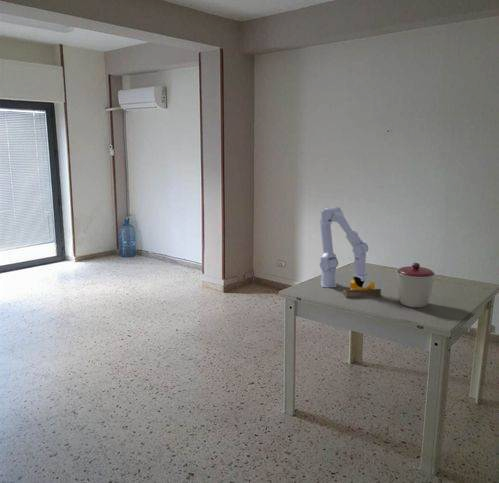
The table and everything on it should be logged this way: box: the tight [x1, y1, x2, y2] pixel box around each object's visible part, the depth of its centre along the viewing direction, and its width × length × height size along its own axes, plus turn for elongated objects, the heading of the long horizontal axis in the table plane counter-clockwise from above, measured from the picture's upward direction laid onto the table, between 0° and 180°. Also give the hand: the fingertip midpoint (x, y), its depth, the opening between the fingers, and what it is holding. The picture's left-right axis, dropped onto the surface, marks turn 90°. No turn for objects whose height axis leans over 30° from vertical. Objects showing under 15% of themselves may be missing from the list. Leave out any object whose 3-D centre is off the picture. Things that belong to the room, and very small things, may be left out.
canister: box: [395, 262, 436, 309], centre depth 235 cm, size 18×18×21 cm
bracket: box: [342, 288, 382, 299], centre depth 252 cm, size 6×18×4 cm, turn 94°
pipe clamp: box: [349, 279, 376, 290], centre depth 252 cm, size 12×4×6 cm, turn 70°
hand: (358, 290), depth 257 cm, fingers closed
